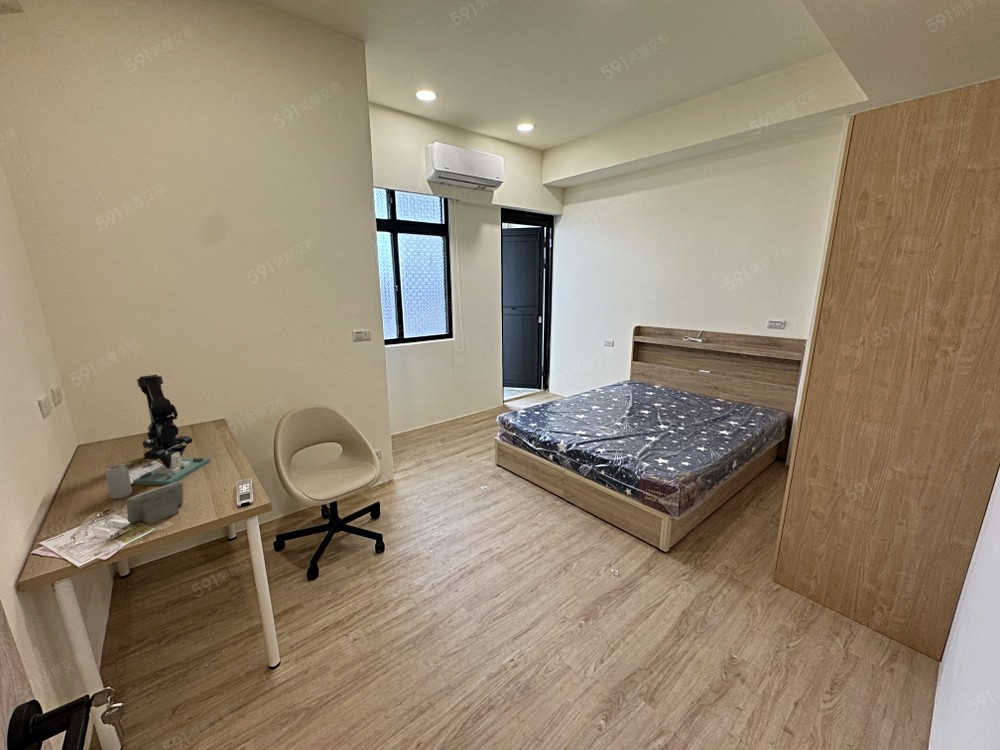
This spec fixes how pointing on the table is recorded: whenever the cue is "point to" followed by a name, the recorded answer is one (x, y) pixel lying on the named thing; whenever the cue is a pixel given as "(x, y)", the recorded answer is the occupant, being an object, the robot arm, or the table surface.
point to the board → (171, 472)
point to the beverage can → (118, 481)
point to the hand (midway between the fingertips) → (172, 465)
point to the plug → (174, 460)
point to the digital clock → (155, 503)
